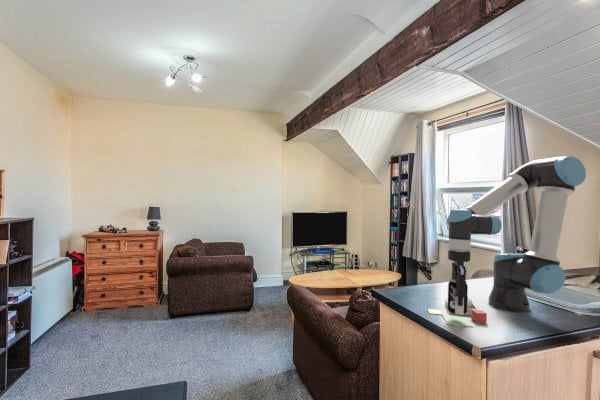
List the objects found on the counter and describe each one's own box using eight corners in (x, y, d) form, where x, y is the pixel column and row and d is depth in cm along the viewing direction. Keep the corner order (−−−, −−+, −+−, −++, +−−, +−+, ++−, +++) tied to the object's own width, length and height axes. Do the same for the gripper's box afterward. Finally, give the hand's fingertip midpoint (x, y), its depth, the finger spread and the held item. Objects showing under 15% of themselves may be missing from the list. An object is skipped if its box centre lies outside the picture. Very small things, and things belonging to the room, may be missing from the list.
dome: (469, 304, 136) (470, 291, 136) (474, 309, 129) (474, 296, 129) (450, 302, 138) (450, 290, 138) (453, 307, 131) (453, 295, 131)
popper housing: (473, 307, 137) (473, 301, 137) (479, 316, 127) (479, 310, 127) (445, 304, 141) (445, 298, 141) (449, 313, 130) (449, 306, 130)
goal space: (467, 318, 124) (467, 317, 124) (473, 327, 116) (473, 326, 116) (442, 315, 127) (442, 314, 127) (446, 324, 118) (446, 323, 118)
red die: (481, 319, 124) (481, 309, 124) (486, 323, 120) (486, 313, 120) (471, 319, 124) (472, 309, 124) (476, 322, 120) (476, 312, 120)
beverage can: (469, 316, 118) (470, 283, 117) (449, 314, 119) (450, 281, 119) (463, 310, 124) (464, 279, 124) (445, 308, 125) (446, 277, 125)
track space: (440, 311, 132) (440, 310, 132) (442, 315, 127) (442, 314, 127) (427, 309, 134) (427, 308, 134) (429, 313, 129) (429, 312, 129)
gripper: (444, 245, 132) (442, 301, 132) (452, 253, 113) (450, 318, 113) (464, 247, 130) (463, 303, 130) (476, 254, 111) (474, 321, 111)
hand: (457, 310), depth 121 cm, fingers closed on beverage can, 7 cm apart
